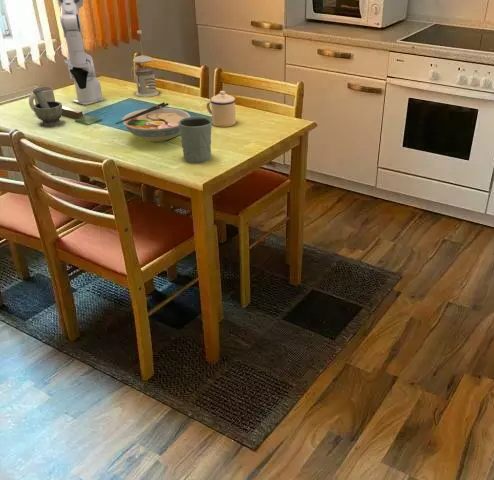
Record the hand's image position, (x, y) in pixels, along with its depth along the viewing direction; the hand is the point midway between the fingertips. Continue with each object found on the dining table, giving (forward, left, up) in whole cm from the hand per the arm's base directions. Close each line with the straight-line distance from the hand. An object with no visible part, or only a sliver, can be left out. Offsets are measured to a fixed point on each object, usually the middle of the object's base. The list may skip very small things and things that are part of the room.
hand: (82, 88), depth 218 cm
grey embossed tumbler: (+5, +65, -10) cm, 66 cm away
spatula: (+5, +2, -10) cm, 11 cm away
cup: (+10, -13, -10) cm, 19 cm away
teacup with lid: (-25, +47, -10) cm, 54 cm away
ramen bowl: (+1, +42, -10) cm, 43 cm away
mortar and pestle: (+15, -1, -10) cm, 18 cm away
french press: (-32, -3, -10) cm, 33 cm away
